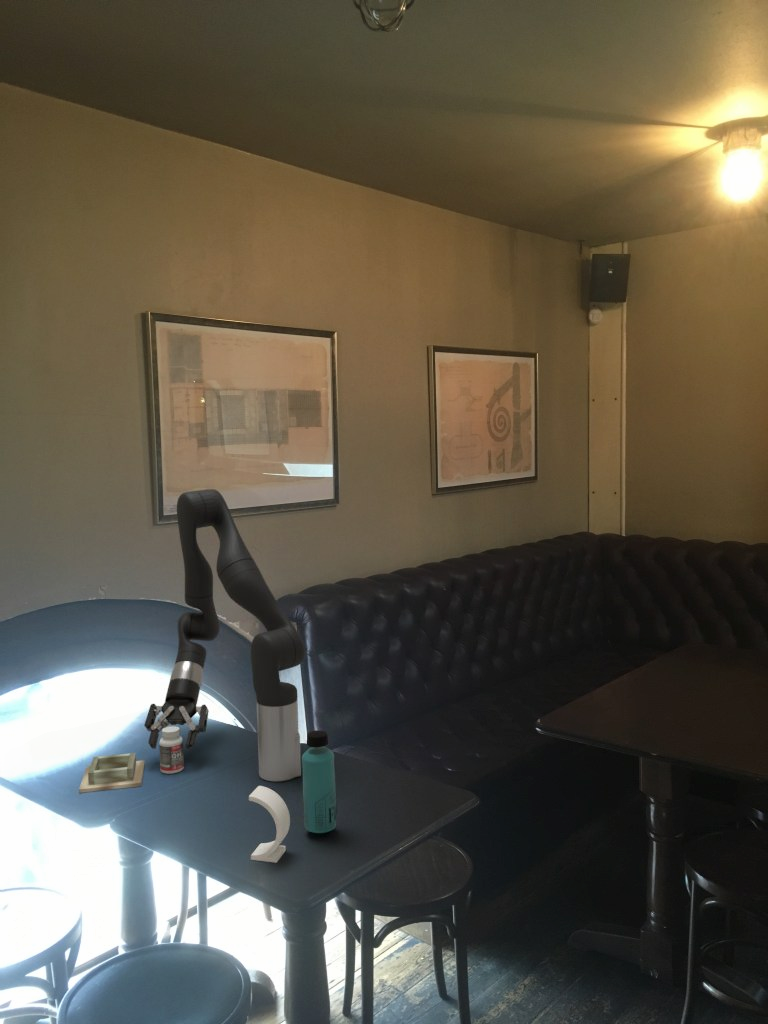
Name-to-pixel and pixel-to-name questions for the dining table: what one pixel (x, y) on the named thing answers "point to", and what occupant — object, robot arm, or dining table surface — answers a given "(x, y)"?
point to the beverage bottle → (319, 784)
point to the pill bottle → (171, 750)
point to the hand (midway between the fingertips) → (170, 747)
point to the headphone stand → (282, 821)
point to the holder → (112, 773)
